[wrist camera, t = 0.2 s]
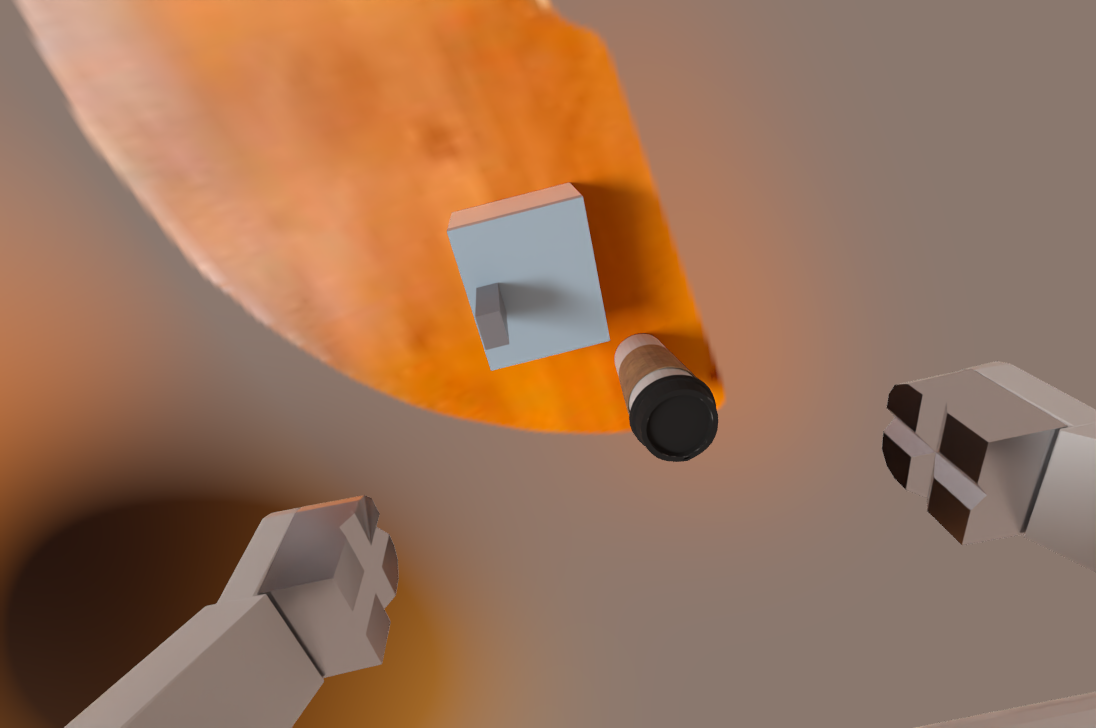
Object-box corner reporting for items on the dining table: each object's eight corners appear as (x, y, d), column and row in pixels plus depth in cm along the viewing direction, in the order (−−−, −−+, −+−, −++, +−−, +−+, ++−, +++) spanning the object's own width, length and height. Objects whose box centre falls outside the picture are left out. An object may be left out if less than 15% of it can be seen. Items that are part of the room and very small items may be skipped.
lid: (448, 226, 47) (440, 253, 39) (579, 192, 47) (598, 213, 39) (490, 361, 54) (492, 408, 46) (606, 332, 54) (627, 374, 46)
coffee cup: (611, 395, 64) (645, 475, 51) (596, 334, 60) (628, 403, 47) (678, 376, 64) (729, 451, 51) (668, 314, 60) (720, 377, 47)
